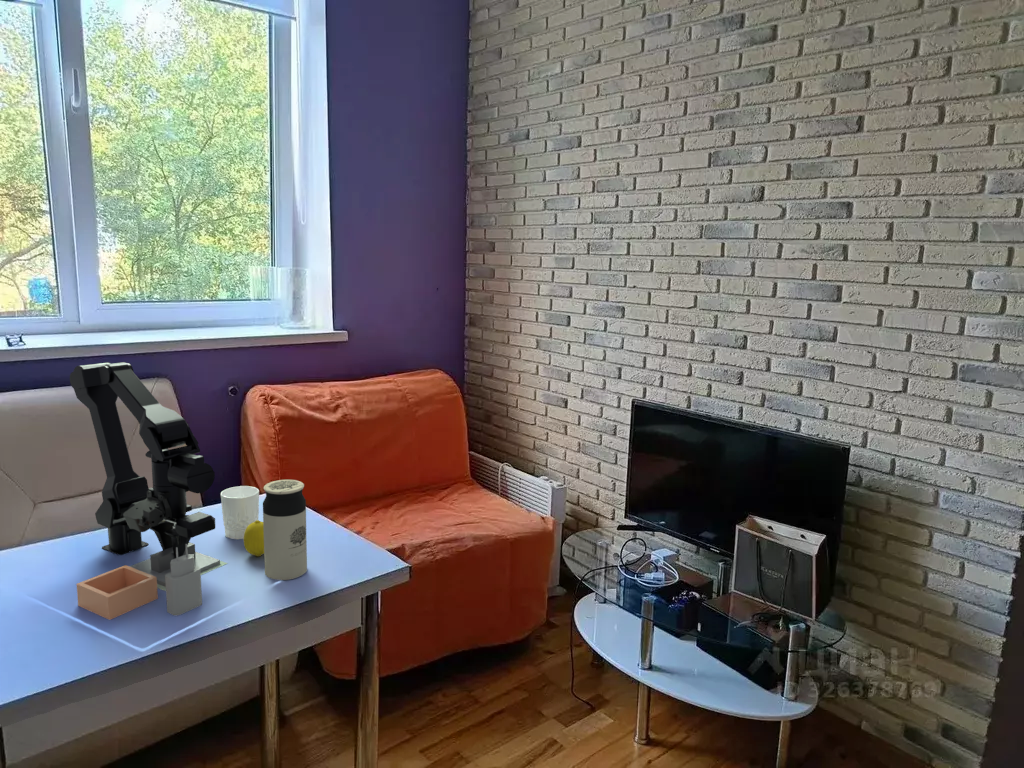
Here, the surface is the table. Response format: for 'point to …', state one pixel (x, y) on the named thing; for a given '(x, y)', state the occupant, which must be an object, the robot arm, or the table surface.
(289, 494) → the travel mug
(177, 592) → the power adapter
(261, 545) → the lemon
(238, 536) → the white cup
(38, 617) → the table surface
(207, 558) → the lid
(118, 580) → the dish
